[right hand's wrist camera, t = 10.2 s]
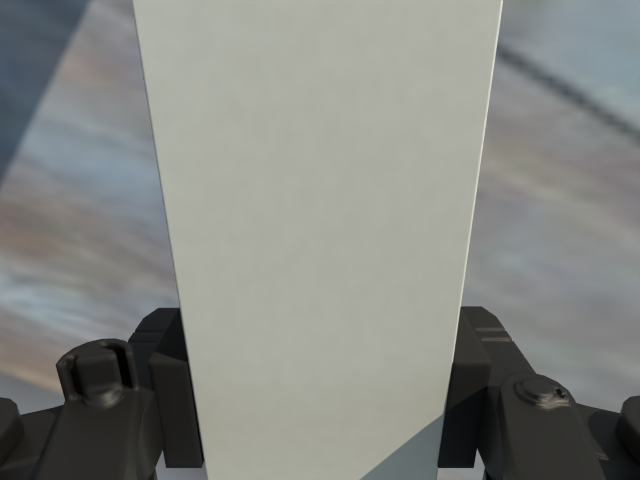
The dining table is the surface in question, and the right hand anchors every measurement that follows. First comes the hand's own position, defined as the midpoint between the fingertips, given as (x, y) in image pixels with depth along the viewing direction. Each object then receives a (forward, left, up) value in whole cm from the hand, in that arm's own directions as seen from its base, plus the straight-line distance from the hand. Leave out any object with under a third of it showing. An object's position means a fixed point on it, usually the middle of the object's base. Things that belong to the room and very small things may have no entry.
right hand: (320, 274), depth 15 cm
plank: (+13, 0, +1) cm, 13 cm away
